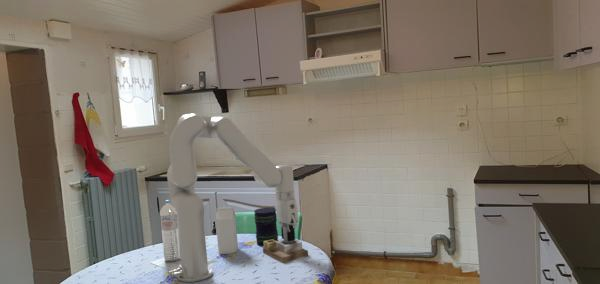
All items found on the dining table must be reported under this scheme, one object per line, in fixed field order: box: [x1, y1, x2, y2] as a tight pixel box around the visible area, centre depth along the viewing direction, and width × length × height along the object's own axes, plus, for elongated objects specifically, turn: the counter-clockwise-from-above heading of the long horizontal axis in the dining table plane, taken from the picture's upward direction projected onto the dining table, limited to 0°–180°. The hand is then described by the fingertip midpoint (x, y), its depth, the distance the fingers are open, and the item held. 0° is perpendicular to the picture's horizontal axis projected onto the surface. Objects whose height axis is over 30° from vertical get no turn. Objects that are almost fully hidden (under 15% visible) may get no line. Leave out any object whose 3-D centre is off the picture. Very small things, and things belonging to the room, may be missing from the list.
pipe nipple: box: [282, 222, 294, 245], centre depth 180 cm, size 5×5×10 cm
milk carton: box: [215, 206, 239, 255], centre depth 189 cm, size 7×7×19 cm
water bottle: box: [159, 199, 181, 262], centre depth 183 cm, size 7×7×25 cm
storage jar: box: [253, 207, 279, 247], centre depth 197 cm, size 10×10×15 cm
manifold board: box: [262, 238, 309, 264], centre depth 180 cm, size 12×16×5 cm
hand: (288, 238), depth 180 cm, fingers closed on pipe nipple, 3 cm apart
